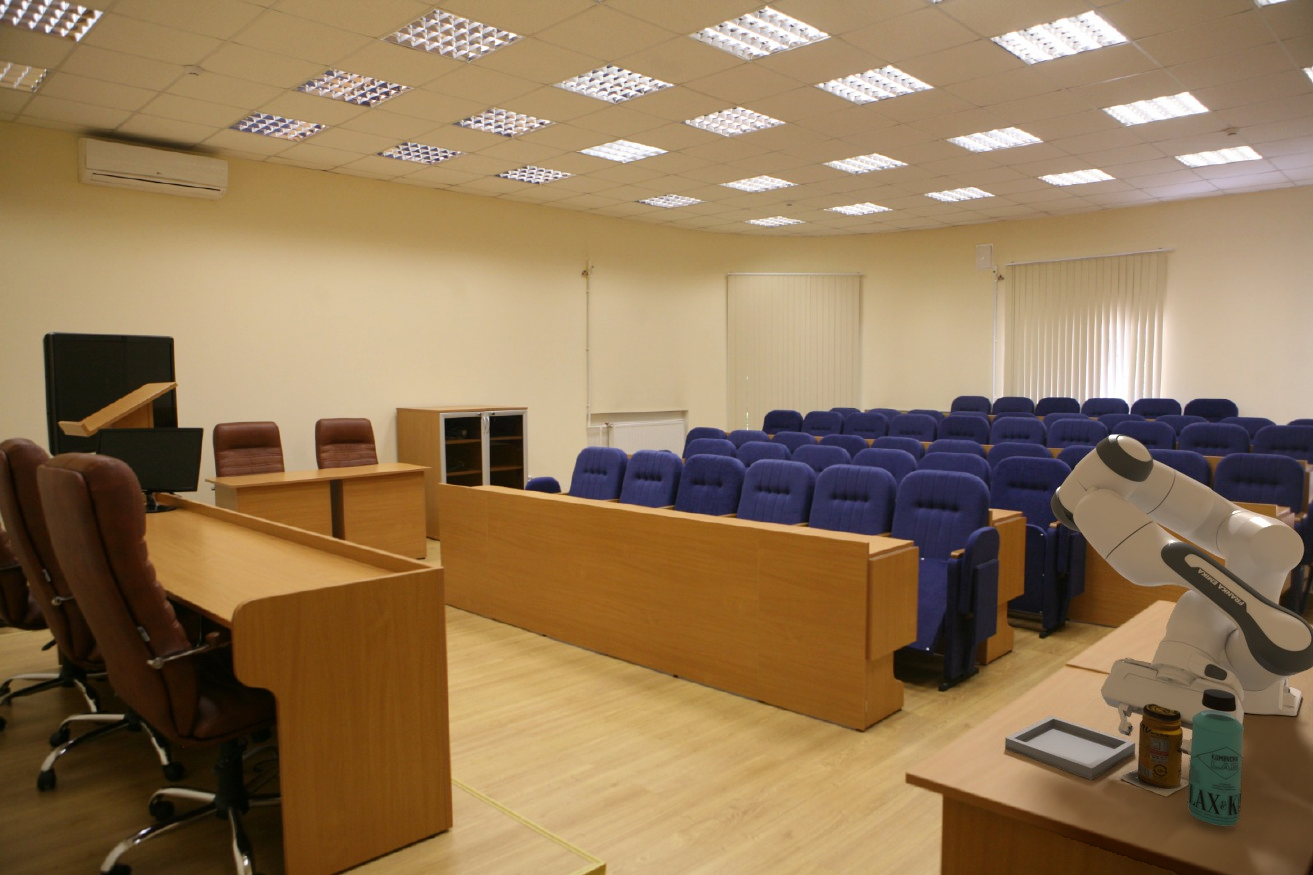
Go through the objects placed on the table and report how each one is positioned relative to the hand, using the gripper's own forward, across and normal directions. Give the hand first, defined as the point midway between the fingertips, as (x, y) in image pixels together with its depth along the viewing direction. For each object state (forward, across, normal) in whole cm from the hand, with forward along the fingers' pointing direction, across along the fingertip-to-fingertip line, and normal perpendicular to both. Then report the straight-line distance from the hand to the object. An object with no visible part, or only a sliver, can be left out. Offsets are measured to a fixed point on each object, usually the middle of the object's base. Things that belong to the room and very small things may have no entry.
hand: (1154, 742), depth 135 cm
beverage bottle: (+10, +11, 0) cm, 15 cm away
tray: (+4, -14, +5) cm, 15 cm away
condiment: (+4, 0, +5) cm, 7 cm away
